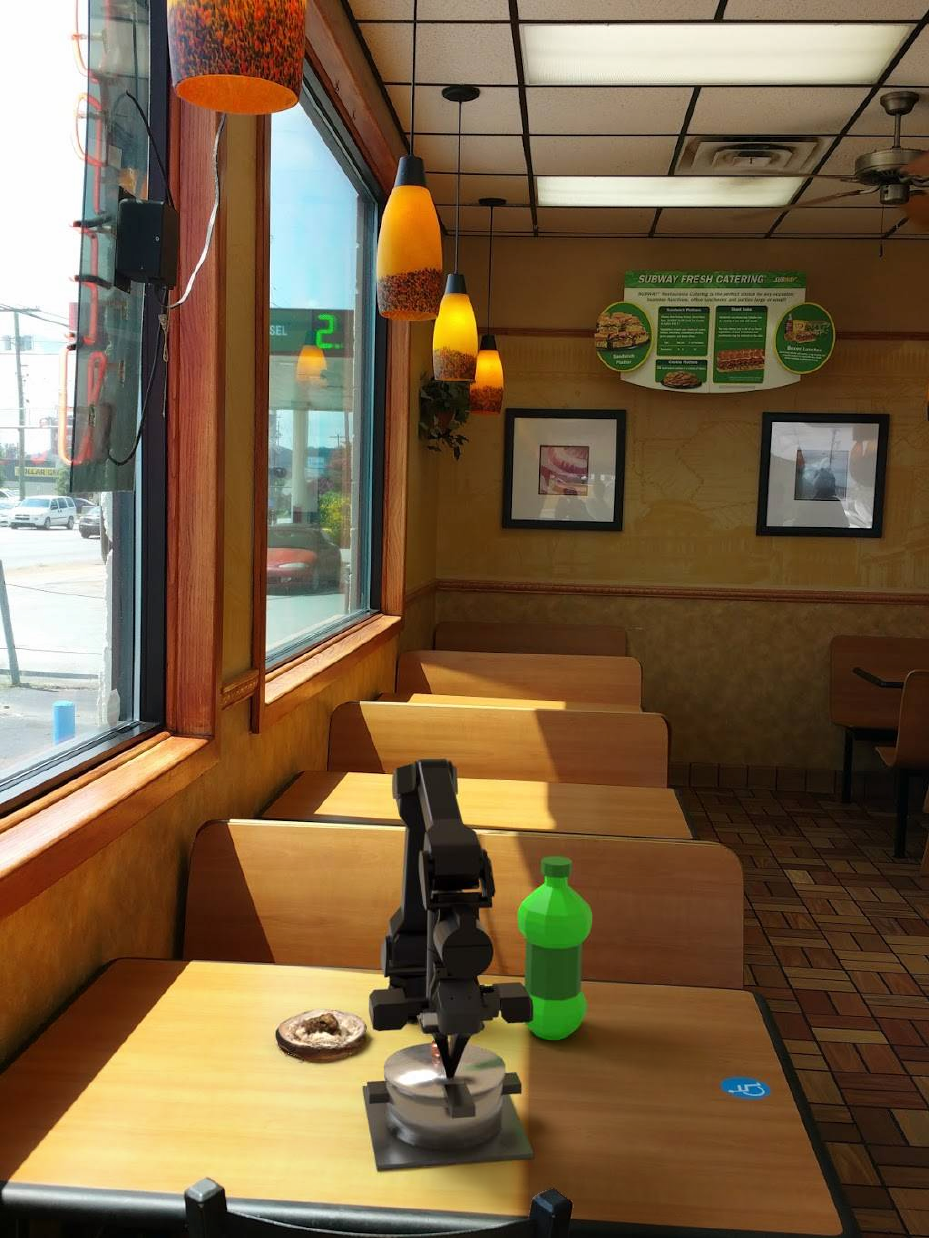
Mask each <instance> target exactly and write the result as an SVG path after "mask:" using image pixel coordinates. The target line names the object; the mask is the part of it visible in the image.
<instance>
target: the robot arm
mask: <svg viewBox="0 0 929 1238" xmlns="http://www.w3.org/2000/svg"><path fill="white" fill-rule="evenodd" d="M391 778H392V779H391V793H392V799H393V800H395V802H396V807H397V811H398V815H399V817H400V819H401V820H402V823H404V826H405V829H404V844H403V860H402V861H403V862H402V878H401V879H402V880H401V896H400V897H401V898H400V899H401V900H400V907H399V908H397V910H396V911H395V912H394V914H393V915H391V917H390V918H389V921H388V930H387V935H384V937H383V941H382V943H381V944H382V945H381V949H380V963H381V964H380V967H381V970H382V974H383V978H389V982H388V987H387V988H383V989H382V988H380V989H373V991H372V992H371V993H370V994H369V997H368V1014H369V1017H370V1021H371V1022H370V1023H371V1026H372V1030H375V1031H377V1032H385V1031H387V1032H388V1031H401V1030H403V1028H404V1027H405V1026H406V1025H407V1024H408V1023H412V1024H416V1023H418V1024H419V1027H420V1030H421V1033H423V1034H425V1035H431V1036H432V1038H433V1041H435V1043H436V1045H437V1048H438V1051H439V1055H440V1058H441V1061H442V1065H443V1068H444V1071H445V1075H446V1078H454V1075H455V1073H456V1070H457V1067H458V1065H459V1062H460V1059H461V1057H462V1054H463V1051H464V1049H465V1047H466V1045H467V1044H469V1043H468V1042H469V1041H470V1039H471V1038H472V1036H473V1035H477V1034H479V1033H480V1032H482V1031H484V1030H485V1025H486V1024H485V1023H484V1022H490V1021H491V1022H492V1021H494V1020H493V1019H495V1018H496V1019H498V1018H499V1016H500V1017H501V1018H502V1019H503V1020H504V1021H505V1022H506V1023H507V1024H510V1025H511V1024H523V1023H524V1024H525V1023H528V1022H531V1021H533V1000H532V998H531V997H530V995H529V993H528V992H527V990H526V988H525V985H523V984H522V983H521V981H520V982H519V981H518V982H517V981H516V982H514V981H513V982H497V983H492V984H490V985H485V984H483V983H481V984H480V982H479V978H478V977H479V976H481V975H483V974H484V972H486V971H487V970H488V968H489V967H490V966H491V964H492V961H493V959H494V953H495V952H494V946H493V942H492V940H491V938H490V936H489V934H488V933H487V931H486V929H485V928H484V926H483V924H482V921H481V919H480V909H489V908H493V898H494V897H495V894H496V885H495V879H494V874H493V866H492V859H491V858H490V857H489V856H488V851H487V850H486V848H482V844H481V841H480V839H479V836H478V833H477V831H475V830H474V829H472V828H471V827H469V826H468V825H466V824H464V821H463V818H462V814H461V810H460V806H459V802H458V799H457V795H458V794H459V787H458V786H459V785H458V784H459V783H458V767H457V766H456V765H453V762H452V760H448V759H447V758H418V759H417V760H415V761H414V760H413V761H412V763H410V764H405V765H403V764H402V765H401V766H398V767H396V768H395V770H394V771H393V773H392V777H391ZM480 886H481V891H474V890H478V889H479V888H480ZM464 891H465V892H464ZM467 891H468V892H467ZM449 1036H450V1037H449ZM448 1041H449V1042H450V1046H449V1045H448Z"/></svg>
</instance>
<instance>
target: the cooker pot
mask: <svg viewBox="0 0 929 1238" xmlns="http://www.w3.org/2000/svg"><path fill="white" fill-rule="evenodd" d="M522 1085H523V1084H522V1081H521V1079H520V1077H519V1075H518V1073H517V1071H516V1072H515V1071H513V1072H505V1079H504V1081H503V1083H502V1084H501V1085H500V1086H499V1087H497V1088H496V1089H494V1090H493V1091H491V1092H488V1093H486V1094H483V1095H480V1096H476V1097H472V1099H473V1101H474V1103H475V1106H476V1117H466V1118H452V1117H451V1114H450V1112H449V1109H448V1106H447V1104H446V1101H445V1100H432V1099H424V1098H418V1097H414V1096H410V1095H407V1094H404V1093H401V1092H399V1091H397V1090H395V1089H394V1088H392V1087H391V1086H390V1085H389V1084H388V1083H387V1082H386V1080H375V1081H373V1080H371V1081H366V1085H362V1094H363V1101H364V1105H365V1112H366V1118H367V1123H368V1129H369V1135H370V1140H371V1145H372V1153H373V1157H374V1162H375V1163H374V1164H375V1168H376V1169H375V1170H376V1171H388V1170H401V1169H414V1168H424V1167H423V1166H427V1167H436V1166H437V1167H439V1166H440V1167H441V1166H450V1165H464V1164H477V1163H488V1162H489V1163H490V1162H503V1161H514V1160H515V1161H516V1160H529V1159H530V1160H531V1159H534V1151H533V1148H532V1146H531V1144H530V1142H529V1139H528V1136H527V1135H526V1132H525V1129H524V1127H523V1125H522V1123H521V1120H520V1118H519V1116H518V1113H517V1110H516V1108H515V1107H514V1103H513V1102H512V1099H511V1096H510V1095H521V1094H522V1091H523V1090H522V1089H523V1088H522ZM427 1167H426V1168H427Z"/></svg>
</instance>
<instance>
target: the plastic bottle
mask: <svg viewBox="0 0 929 1238" xmlns="http://www.w3.org/2000/svg"><path fill="white" fill-rule="evenodd" d="M540 862H541V863H540V864H541V865H540V873H541V874H542V876H544V883H543V884H541V885H540V886H539V887H537V888H535V890H533V891H532V892H531V893H529V895H528V896H526V898H525V899H524V900H522V902H520V903H521V904H519V905H520V906H519V908H518V910H517V926H518V931H519V932H520V933H521V934H522V935H523V936H524V938H525V963H524V964H525V965H524V968H525V969H524V987H525V988H526V990H527V992H528V993H529V995H530V997H531V998H532V1000H533V1021H531V1022H528V1023H524V1024H525V1026H527V1028H528V1029H529V1030H530V1031H531V1032H532V1033H534V1035H535V1036H536V1037H538V1038H540V1039H542V1040H546V1041H547V1040H548V1041H560V1040H562V1039H565V1038H568V1037H569V1036H570V1035H571V1034H572V1033H574V1032H575V1031H576V1030H577V1029H578V1028H579V1027H580V1025H581V1023H582V1022H583V1020H584V1019H585V1016H586V1014H587V1011H588V1010H587V1008H588V1005H587V1004H588V1003H587V1000H586V998H585V994H584V993H583V990H582V989H581V987H582V964H583V963H582V962H583V943H584V941H585V940H586V939H587V937H588V936H589V935H590V933H591V930H592V925H593V913H592V909H591V907H590V905H589V904H588V902H586V901H585V899H584V898H583V897H582V896H581V895H580V894H579V893H577V891H575V890H574V889H573V888H572V887H571V886H569V885H568V877H570V876H571V875H572V874H573V873H572V870H573V868H572V867H573V861H572V860H571V859H570V858H568V857H563V856H547V857H546V856H545V857H543V858H542V859H541V861H540Z"/></svg>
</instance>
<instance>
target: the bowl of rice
mask: <svg viewBox="0 0 929 1238" xmlns="http://www.w3.org/2000/svg"><path fill="white" fill-rule="evenodd" d="M367 1030H368V1026H367V1023H365V1021H364V1020H363V1019H362V1018H361V1017H359V1016H358V1015H356V1014H352V1013H349V1012H347V1011H342V1010H341V1009H330V1008H329V1009H327V1008H316V1009H310V1010H306V1011H303V1012H301V1013H299V1014H296V1015H294V1016H291V1017H289V1018H288V1019H285V1020H284V1021H282V1022H281V1023H280V1024H279V1025H278V1027H277V1029H276V1030H275V1032H274V1033H275V1036H274V1037H275V1040H276V1042H278V1043H277V1044H278V1045H280V1046H279V1047H280V1048H281V1051H282V1052H283V1053H285V1054H286V1053H289V1054H292V1055H291V1056H293V1055H294V1056H293V1057H296V1056H297V1058H298V1057H300V1058H299V1059H300V1061H298V1062H297V1063H298V1064H299V1063H300V1064H304V1062H307V1061H308V1062H307V1064H310V1063H311V1062H315V1061H317V1062H316V1063H318V1062H319V1063H320V1062H321V1063H323V1062H322V1061H324V1062H329V1061H330V1060H331V1061H335V1060H339V1059H342V1058H341V1057H343V1058H345V1057H344V1056H346V1057H348V1056H347V1055H349V1054H350V1053H352V1054H353V1055H355V1056H356V1055H357V1054H356V1051H358V1050H359V1049H360V1048H362V1045H363V1043H364V1042H365V1041H364V1037H365V1035H366V1032H367ZM278 1045H277V1046H278ZM289 1054H286V1055H284V1057H288V1055H289ZM350 1055H351V1054H350ZM350 1055H349V1056H350ZM301 1058H303V1059H301ZM338 1058H339V1059H338ZM334 1059H335V1060H334ZM304 1060H305V1061H304Z"/></svg>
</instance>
